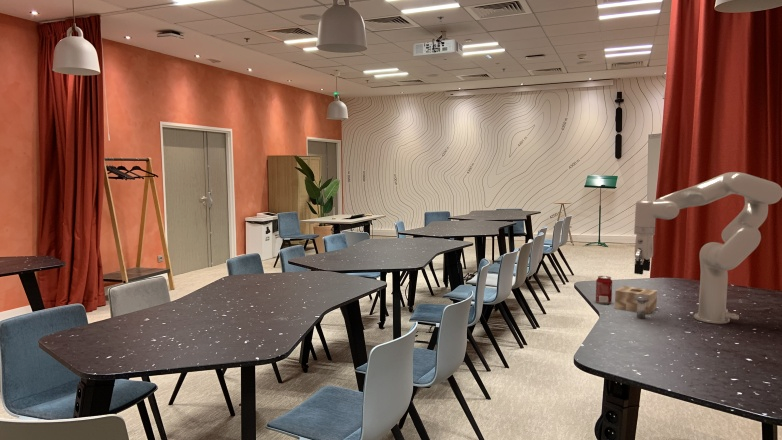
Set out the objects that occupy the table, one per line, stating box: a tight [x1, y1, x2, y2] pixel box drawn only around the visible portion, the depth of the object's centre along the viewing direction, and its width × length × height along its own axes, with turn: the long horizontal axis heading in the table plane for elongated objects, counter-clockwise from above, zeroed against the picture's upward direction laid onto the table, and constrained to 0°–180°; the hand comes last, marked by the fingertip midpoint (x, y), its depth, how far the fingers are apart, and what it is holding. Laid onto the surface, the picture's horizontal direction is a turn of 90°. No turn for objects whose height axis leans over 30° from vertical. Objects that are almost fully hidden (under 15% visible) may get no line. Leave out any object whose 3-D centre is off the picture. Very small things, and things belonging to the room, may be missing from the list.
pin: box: [634, 295, 649, 320], centre depth 223 cm, size 6×6×9 cm
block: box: [614, 285, 658, 315], centre depth 237 cm, size 14×12×8 cm
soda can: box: [595, 275, 613, 305], centre depth 247 cm, size 7×7×12 cm
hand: (642, 272), depth 221 cm, fingers open, 9 cm apart
